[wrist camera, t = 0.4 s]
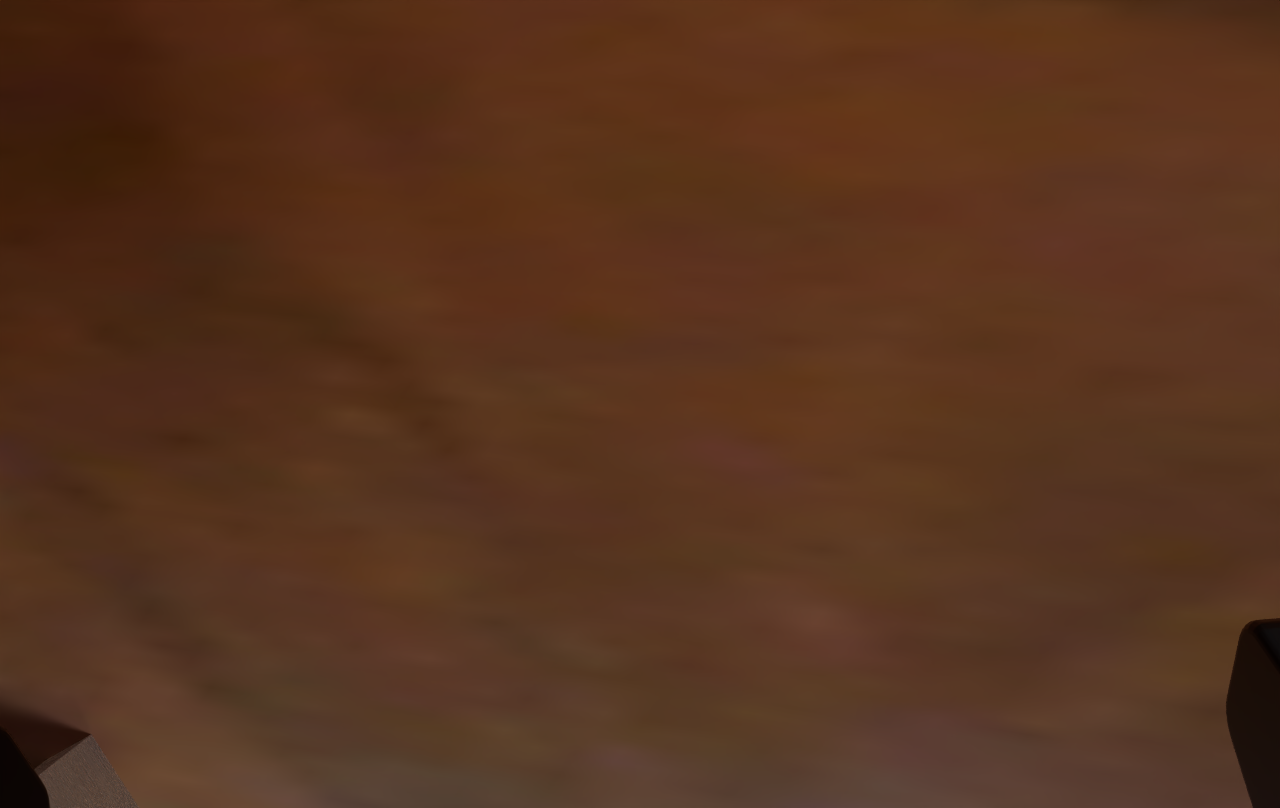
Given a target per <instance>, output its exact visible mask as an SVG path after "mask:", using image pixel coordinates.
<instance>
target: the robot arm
mask: <svg viewBox="0 0 1280 808" xmlns="http://www.w3.org/2000/svg"><path fill="white" fill-rule="evenodd" d="M1226 714H1227V722H1228V728H1229V732H1230V736H1231V739H1232V742H1233V746H1234V749H1235V752H1236V755H1237V758H1238V762H1239V765H1240V768H1241V771H1242V774H1243V778H1244V781H1245V784H1246V787H1247V790H1248V794H1249V797H1250V800H1251V803H1252V806H1253V808H1280V618H1276V619H1264V620H1255V621H1251V622H1249V623H1248V624H1246V625H1245V627H1244V628H1243V629H1242V631H1241V634H1240V637H1239V641H1238V646H1237V651H1236V656H1235V661H1234V666H1233V670H1232V675H1231V680H1230V685H1229V690H1228V694H1227V701H1226ZM0 808H50V804H49V796H48V793H47V789H46V787H45V785H44V784H43V782H42V781H41V779H40V778H39V776H38V775H37V773H36V772H35V770H34V769H33V767H32V766H31V764H30V763H29V761H28V760H27V758H26V757H25V755H24V754H23V752H22V751H21V749H20V748H19V746H18V745H17V743H16V742H15V741H14V739H13V738H12V736H11V735H10V733H9V732H8V731H7V730H6V729H5V728H3V727H1V726H0Z"/></svg>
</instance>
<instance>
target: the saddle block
mask: <svg viewBox="0 0 1280 808" xmlns="http://www.w3.org/2000/svg"><path fill="white" fill-rule="evenodd" d="M34 770H35V772H36V773H37V775H38V776H39V778H40V779H41V781H42V782H43V784H44V785H45V787H46V789H47V793H48V796H49V804H50V808H139V807H138V806H137V804H136V803H135V801H134V799H133V798H132V796H131V795H130V793H129V792H128V790H127V789H126V787H125V786H124V784H123V782H122V781H121V779H120V778H119V776H118V775H117V773H116V772H115V770H114V769H113V767H112V765H111V764H110V762H109V761H108V759H107V758H106V756H105V755H104V753H103V751H102V750H101V748H100V747H99V745H98V744H97V742H96V741H95V739H94V738H93V736H92V734H91V735H89V736H87V737H86V738H84V739H82V740H80V741H78V742H77V743H75V744H73V745H71V746H70V747H68V748H66V749H64V750H62V751H61V752H59V753H57V754H55V755H54V756H52V757H50V758H48V759H47V760H45V761H44V762H43V763H41V764H40V765H39V766H37V767H36V768H35V769H34Z"/></svg>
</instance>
